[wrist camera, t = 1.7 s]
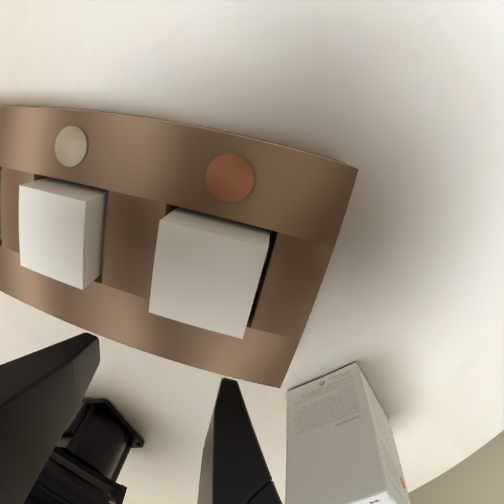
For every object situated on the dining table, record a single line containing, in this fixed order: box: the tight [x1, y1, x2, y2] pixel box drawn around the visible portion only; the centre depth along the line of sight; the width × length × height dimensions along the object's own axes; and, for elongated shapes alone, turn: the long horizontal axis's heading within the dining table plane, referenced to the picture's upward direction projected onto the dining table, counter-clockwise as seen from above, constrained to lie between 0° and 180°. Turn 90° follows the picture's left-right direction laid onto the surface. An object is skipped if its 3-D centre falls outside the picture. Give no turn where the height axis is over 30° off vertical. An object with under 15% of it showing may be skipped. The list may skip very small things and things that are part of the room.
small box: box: [285, 362, 410, 504], centre depth 17 cm, size 8×6×10 cm
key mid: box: [19, 177, 109, 290], centre depth 15 cm, size 4×4×3 cm
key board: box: [0, 105, 358, 388], centre depth 17 cm, size 26×12×4 cm, turn 77°
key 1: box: [149, 207, 271, 339], centre depth 15 cm, size 4×4×3 cm
